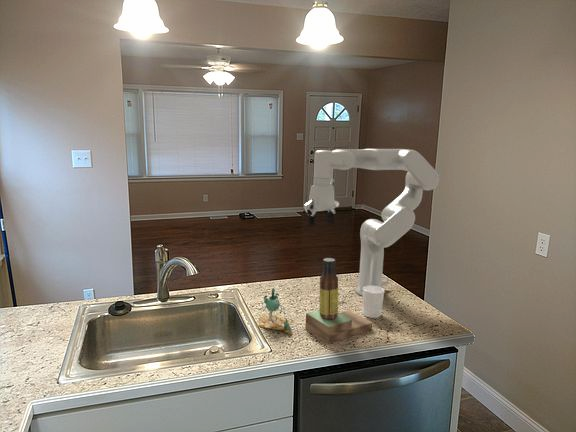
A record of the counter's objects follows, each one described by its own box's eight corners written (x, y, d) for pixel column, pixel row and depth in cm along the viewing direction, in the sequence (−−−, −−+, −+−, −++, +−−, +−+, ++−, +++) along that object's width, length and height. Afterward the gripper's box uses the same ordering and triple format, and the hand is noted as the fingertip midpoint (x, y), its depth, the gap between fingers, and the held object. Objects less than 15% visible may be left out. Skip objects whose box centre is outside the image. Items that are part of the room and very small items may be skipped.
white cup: (365, 319, 156) (367, 293, 155) (358, 310, 164) (359, 285, 162) (385, 318, 158) (387, 292, 156) (377, 309, 166) (379, 285, 164)
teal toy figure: (273, 340, 139) (271, 296, 138) (250, 324, 155) (248, 284, 153) (298, 333, 144) (297, 290, 142) (273, 318, 159) (272, 279, 158)
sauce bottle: (337, 312, 147) (340, 257, 143) (338, 320, 141) (341, 262, 137) (318, 311, 147) (320, 256, 143) (318, 319, 141) (320, 261, 137)
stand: (348, 316, 158) (349, 301, 157) (372, 329, 149) (373, 313, 148) (305, 329, 147) (306, 313, 146) (327, 343, 138) (328, 326, 136)
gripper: (333, 180, 176) (331, 220, 180) (299, 181, 167) (298, 224, 170) (345, 182, 170) (343, 224, 174) (311, 184, 161) (309, 228, 164)
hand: (321, 224), depth 172 cm, fingers open, 9 cm apart
